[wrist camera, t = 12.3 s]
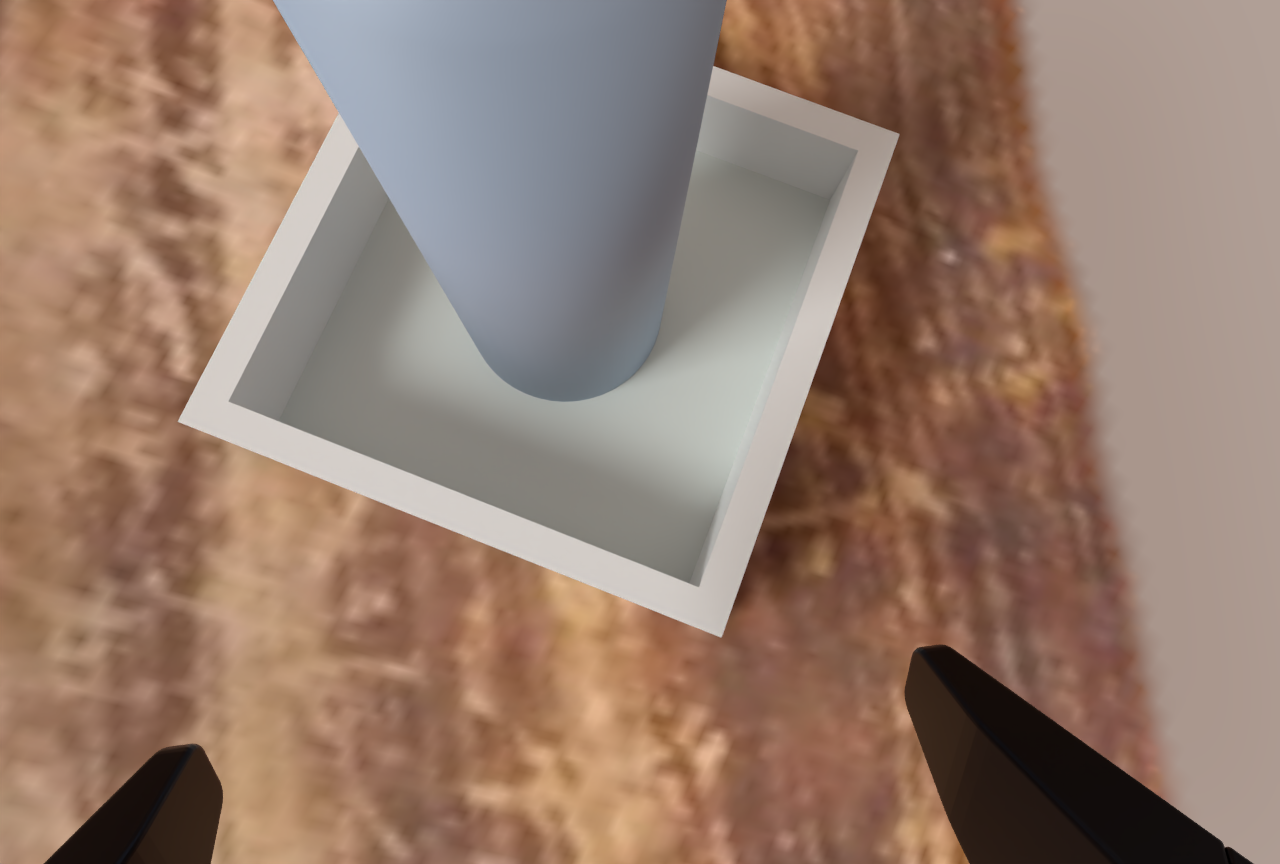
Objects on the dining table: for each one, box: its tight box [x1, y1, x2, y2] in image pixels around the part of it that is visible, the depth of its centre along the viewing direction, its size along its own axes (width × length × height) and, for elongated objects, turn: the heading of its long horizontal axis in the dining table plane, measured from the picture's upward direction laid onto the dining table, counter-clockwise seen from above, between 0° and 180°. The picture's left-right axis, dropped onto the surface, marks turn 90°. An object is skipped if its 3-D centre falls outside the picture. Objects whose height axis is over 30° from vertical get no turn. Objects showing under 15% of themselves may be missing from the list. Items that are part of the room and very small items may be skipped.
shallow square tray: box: [178, 66, 900, 637], centre depth 19 cm, size 13×13×3 cm
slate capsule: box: [273, 0, 727, 402], centre depth 13 cm, size 5×5×13 cm
